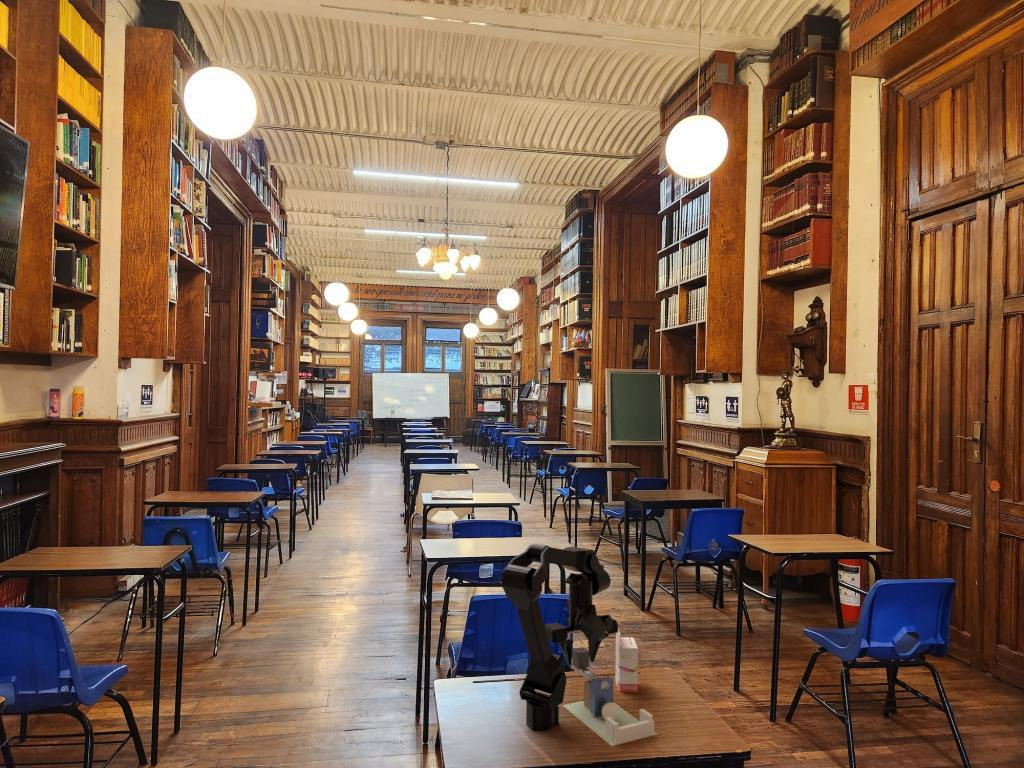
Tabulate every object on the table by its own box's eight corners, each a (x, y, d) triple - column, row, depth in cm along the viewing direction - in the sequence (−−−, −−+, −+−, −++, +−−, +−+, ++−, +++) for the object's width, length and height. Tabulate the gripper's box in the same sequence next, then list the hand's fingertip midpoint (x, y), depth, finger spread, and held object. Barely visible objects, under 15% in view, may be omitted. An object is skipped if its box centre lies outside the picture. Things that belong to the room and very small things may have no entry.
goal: (615, 744, 140) (615, 725, 140) (605, 736, 144) (605, 717, 144) (654, 735, 145) (654, 716, 145) (643, 727, 148) (643, 708, 148)
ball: (607, 726, 148) (607, 708, 149) (598, 718, 152) (598, 701, 152) (622, 723, 150) (622, 704, 150) (612, 715, 154) (612, 697, 154)
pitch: (611, 750, 140) (611, 718, 140) (562, 709, 159) (562, 681, 159) (657, 738, 145) (657, 707, 145) (604, 700, 164) (604, 672, 164)
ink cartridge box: (639, 695, 167) (638, 636, 167) (619, 695, 167) (619, 636, 167) (633, 681, 175) (633, 625, 176) (614, 681, 175) (614, 625, 176)
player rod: (596, 716, 152) (596, 667, 152) (561, 689, 166) (561, 645, 167) (614, 712, 154) (614, 664, 154) (578, 686, 168) (578, 642, 169)
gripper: (564, 613, 152) (563, 682, 152) (631, 603, 160) (631, 669, 160) (541, 600, 162) (541, 665, 162) (605, 592, 170) (605, 653, 170)
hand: (580, 663), depth 163 cm, fingers open, 6 cm apart
